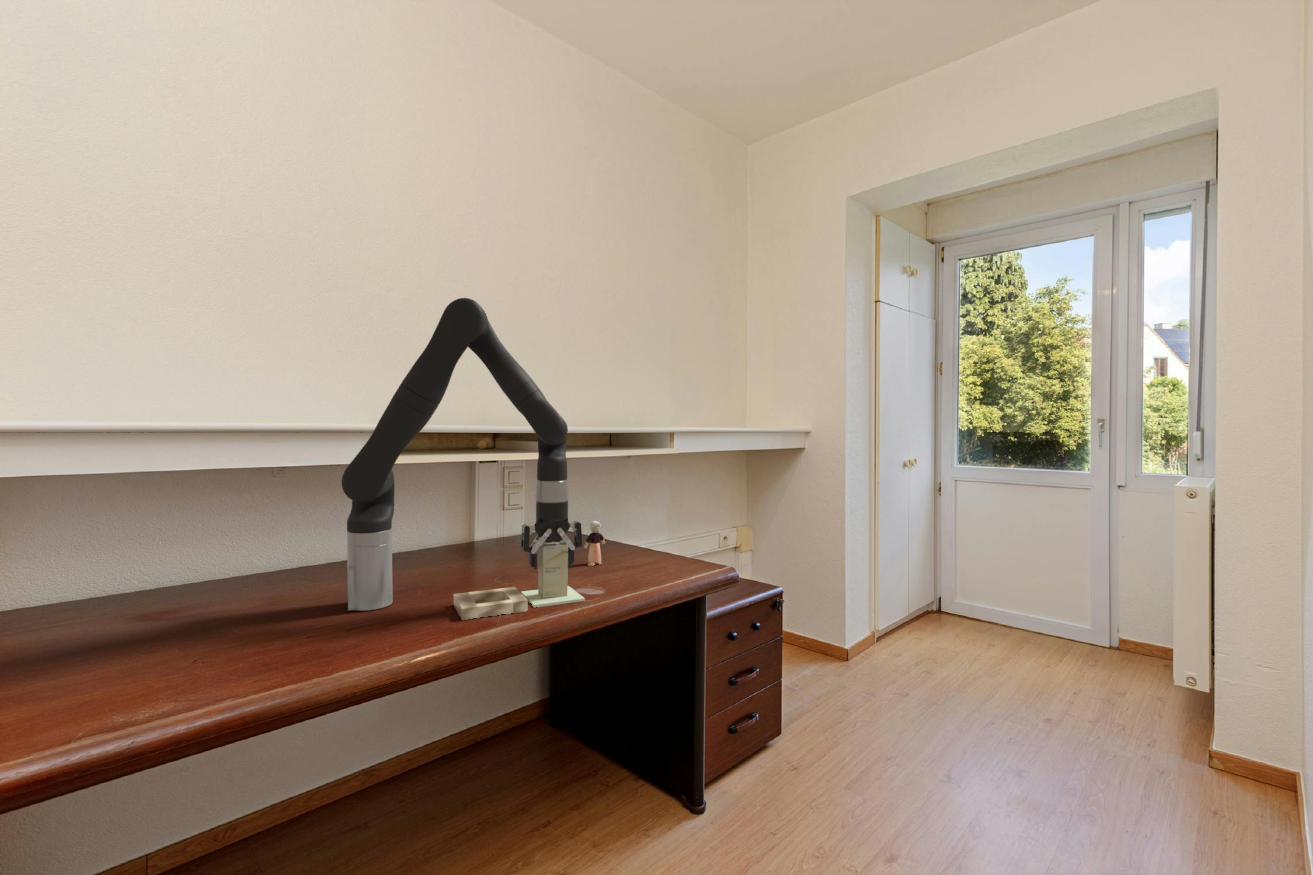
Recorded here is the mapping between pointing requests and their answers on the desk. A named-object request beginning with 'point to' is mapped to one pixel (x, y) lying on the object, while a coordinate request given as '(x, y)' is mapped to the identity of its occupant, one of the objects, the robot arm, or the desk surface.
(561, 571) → the skincare box
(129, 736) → the desk surface
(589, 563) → the grandmother figurine
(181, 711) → the desk surface
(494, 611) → the pocket holder
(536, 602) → the pad
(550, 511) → the robot arm
